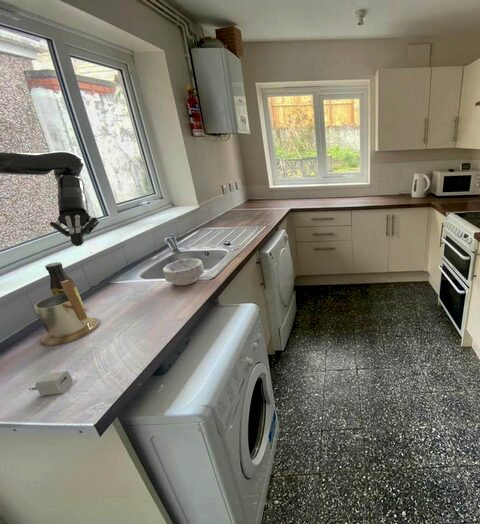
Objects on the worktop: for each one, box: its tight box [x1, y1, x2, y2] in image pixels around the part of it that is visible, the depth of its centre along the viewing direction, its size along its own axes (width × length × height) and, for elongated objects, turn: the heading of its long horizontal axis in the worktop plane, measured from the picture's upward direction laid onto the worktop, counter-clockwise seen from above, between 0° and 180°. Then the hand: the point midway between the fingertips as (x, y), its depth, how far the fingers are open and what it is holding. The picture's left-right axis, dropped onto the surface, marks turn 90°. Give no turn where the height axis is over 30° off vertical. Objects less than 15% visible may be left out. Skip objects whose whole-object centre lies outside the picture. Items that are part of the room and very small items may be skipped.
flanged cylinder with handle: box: [33, 280, 90, 339], centre depth 89 cm, size 16×10×19 cm, turn 69°
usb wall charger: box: [28, 370, 74, 397], centre depth 70 cm, size 4×7×4 cm, turn 99°
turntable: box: [40, 317, 100, 346], centre depth 94 cm, size 14×14×1 cm
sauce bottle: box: [45, 261, 86, 311], centre depth 101 cm, size 6×6×20 cm
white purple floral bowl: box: [162, 258, 205, 286], centre depth 126 cm, size 15×15×8 cm
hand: (77, 244), depth 97 cm, fingers closed
